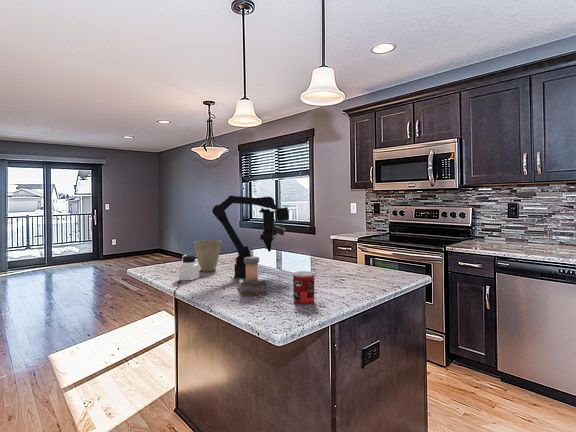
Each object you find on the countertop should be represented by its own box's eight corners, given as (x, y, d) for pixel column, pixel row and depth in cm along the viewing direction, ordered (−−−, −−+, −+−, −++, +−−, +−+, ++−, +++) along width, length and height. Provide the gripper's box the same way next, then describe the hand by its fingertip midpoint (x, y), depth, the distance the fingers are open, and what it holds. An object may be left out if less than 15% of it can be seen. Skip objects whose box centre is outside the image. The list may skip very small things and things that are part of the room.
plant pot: (227, 268, 203) (226, 240, 202) (211, 273, 189) (210, 243, 189) (205, 266, 209) (204, 239, 208) (188, 271, 196) (187, 242, 195)
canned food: (292, 299, 140) (292, 271, 139) (312, 298, 141) (312, 270, 140) (294, 305, 132) (294, 275, 132) (316, 304, 133) (315, 275, 132)
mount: (237, 287, 159) (237, 275, 159) (259, 285, 162) (259, 273, 162) (242, 296, 145) (242, 282, 145) (266, 293, 148) (266, 280, 148)
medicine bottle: (199, 277, 180) (198, 254, 179) (191, 281, 173) (190, 256, 172) (187, 277, 182) (186, 253, 181) (178, 280, 175) (178, 255, 175)
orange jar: (243, 286, 154) (242, 257, 153) (258, 285, 156) (257, 256, 155) (245, 290, 148) (245, 259, 147) (261, 289, 150) (260, 258, 149)
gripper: (282, 222, 173) (283, 254, 174) (286, 219, 191) (286, 248, 192) (259, 222, 174) (260, 254, 175) (265, 220, 192) (266, 248, 193)
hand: (269, 251), depth 184 cm, fingers closed
